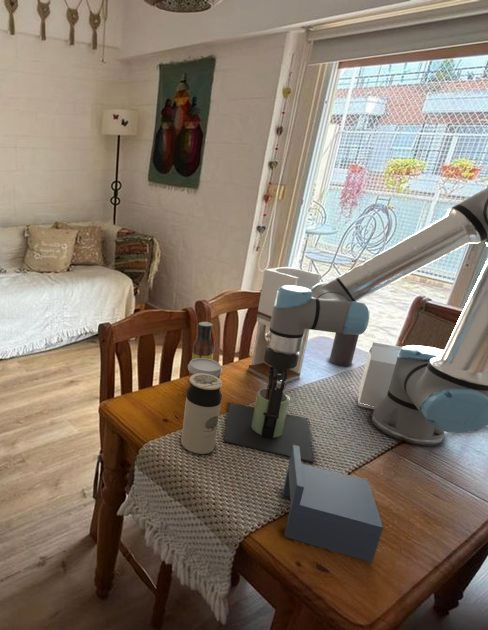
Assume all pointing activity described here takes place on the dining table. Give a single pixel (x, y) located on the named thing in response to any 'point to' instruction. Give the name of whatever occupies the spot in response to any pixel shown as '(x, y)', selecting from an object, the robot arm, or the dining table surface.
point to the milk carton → (377, 374)
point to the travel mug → (201, 413)
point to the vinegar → (343, 349)
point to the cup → (262, 406)
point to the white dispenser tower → (268, 294)
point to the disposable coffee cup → (204, 367)
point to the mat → (247, 437)
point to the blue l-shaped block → (331, 510)
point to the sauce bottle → (203, 342)
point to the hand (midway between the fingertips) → (267, 428)
